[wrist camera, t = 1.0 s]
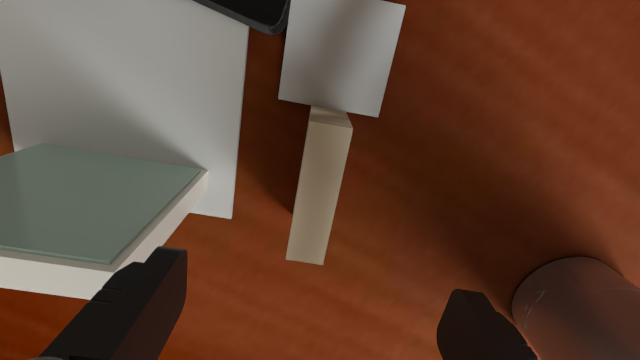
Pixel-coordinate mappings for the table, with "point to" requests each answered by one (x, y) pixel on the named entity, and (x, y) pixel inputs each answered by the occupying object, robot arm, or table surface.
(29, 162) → the tile
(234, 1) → the phone
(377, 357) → the table surface
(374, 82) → the scraper
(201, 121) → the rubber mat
